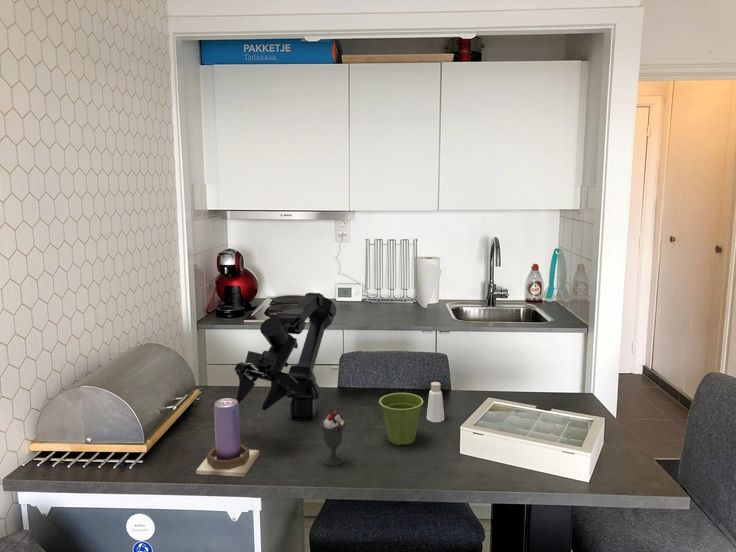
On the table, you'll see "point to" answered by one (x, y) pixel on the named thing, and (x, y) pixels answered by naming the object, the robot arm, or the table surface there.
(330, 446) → the sundae
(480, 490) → the table surface
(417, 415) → the plant pot
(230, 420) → the beverage can
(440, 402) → the salt shaker
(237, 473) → the board
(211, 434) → the table surface
